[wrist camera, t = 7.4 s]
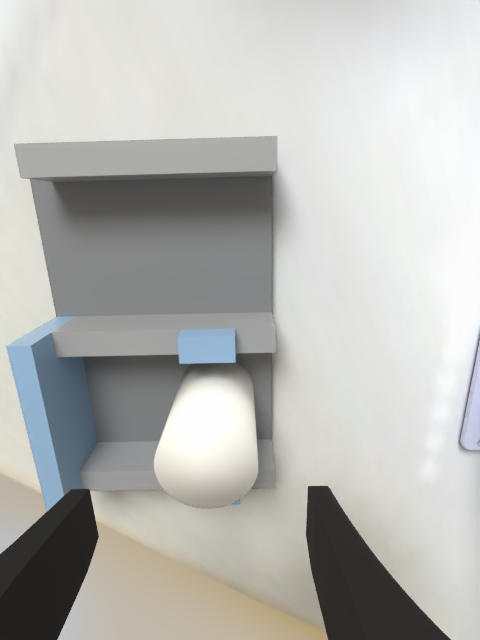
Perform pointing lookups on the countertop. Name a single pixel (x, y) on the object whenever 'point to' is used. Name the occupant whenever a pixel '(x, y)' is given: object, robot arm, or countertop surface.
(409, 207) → the countertop surface
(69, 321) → the grey and blue rack
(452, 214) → the countertop surface
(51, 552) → the robot arm
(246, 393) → the white rounded cylinder
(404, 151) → the countertop surface
